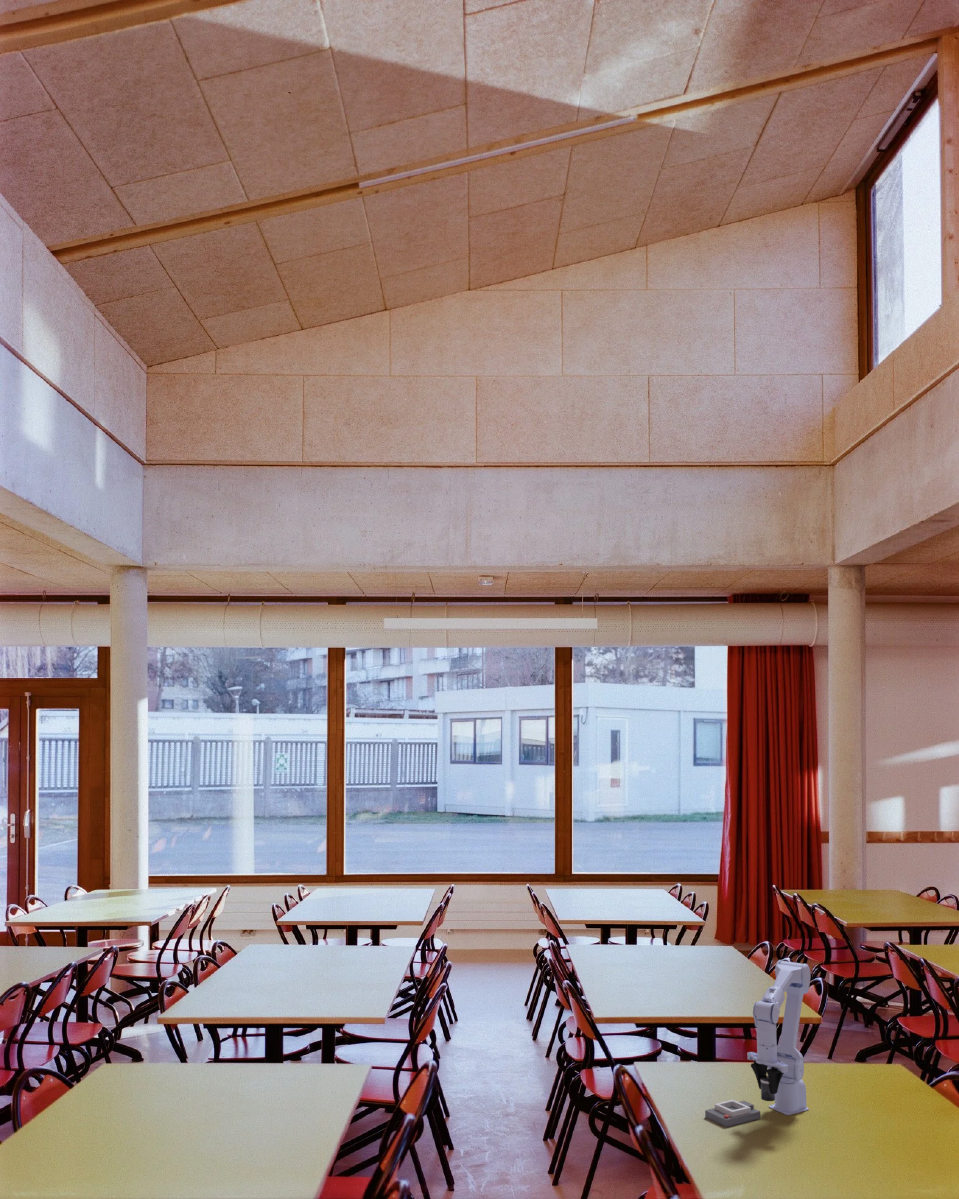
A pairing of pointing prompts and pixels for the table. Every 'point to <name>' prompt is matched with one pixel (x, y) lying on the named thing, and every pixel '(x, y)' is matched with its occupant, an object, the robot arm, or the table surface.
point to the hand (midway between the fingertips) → (768, 1091)
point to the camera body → (732, 1113)
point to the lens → (766, 1089)
